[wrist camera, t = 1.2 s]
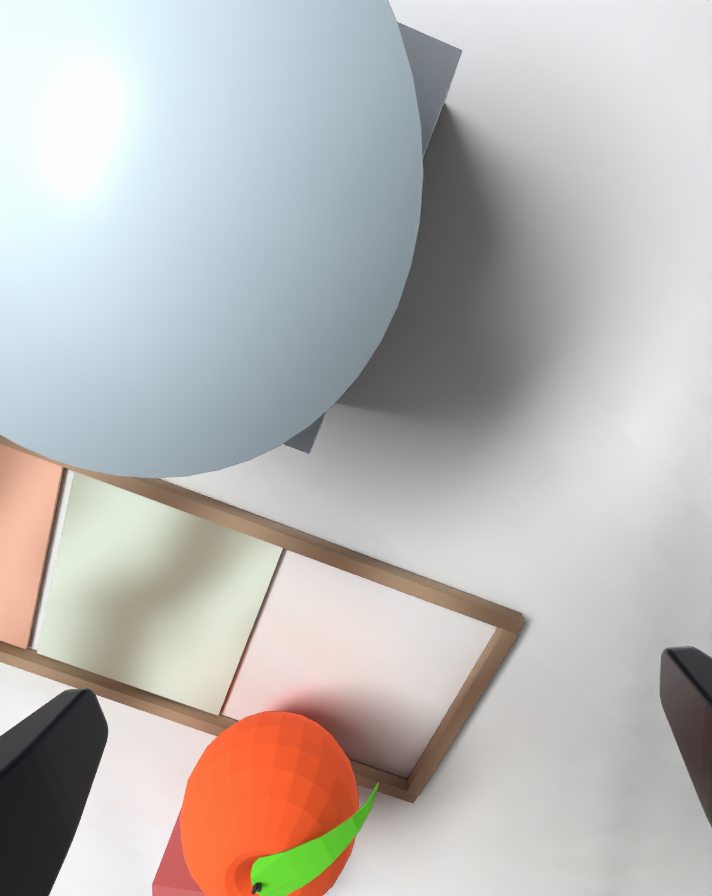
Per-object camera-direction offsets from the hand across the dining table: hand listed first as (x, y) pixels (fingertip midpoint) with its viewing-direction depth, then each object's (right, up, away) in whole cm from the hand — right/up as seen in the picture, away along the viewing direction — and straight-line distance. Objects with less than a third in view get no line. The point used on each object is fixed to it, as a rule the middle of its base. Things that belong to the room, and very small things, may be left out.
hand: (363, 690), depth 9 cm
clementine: (-3, -10, +17) cm, 20 cm away
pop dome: (-4, +10, +6) cm, 13 cm away
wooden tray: (-9, -3, +15) cm, 18 cm away
